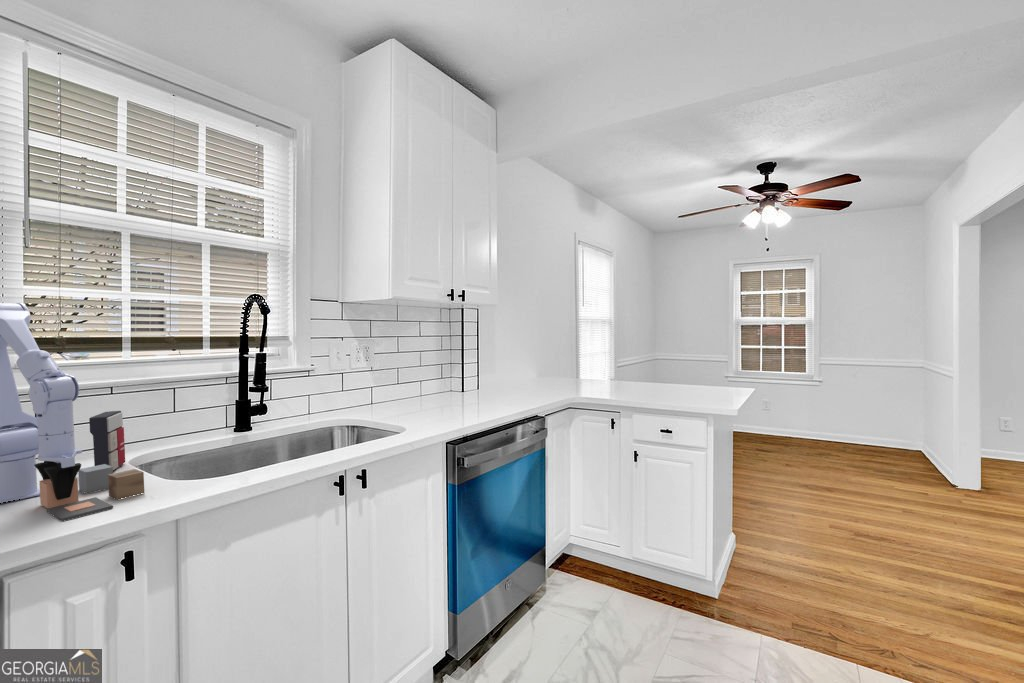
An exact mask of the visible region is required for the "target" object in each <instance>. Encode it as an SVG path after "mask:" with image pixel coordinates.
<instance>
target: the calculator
mask: <svg viewBox="0 0 1024 683" xmlns="http://www.w3.org/2000/svg"><path fill="white" fill-rule="evenodd" d="M123 419H124V418H123V412H122V411H121V410H112V411H109V410H108V411H104V412H101V413H99V414H97V415H94V416H91V417H89V420H88V421H89V433H90V434H91V435H92V440H93V441H92V444H93V445H92V446H93V459H94V460H93V461H94V462H93V465H94V466H98V465H103V464H106V465H109V466H111V467H113V470H114V471H115V470H117V469H119V467H121V466H123V464H125V463H126V448H125V429H124V428H125V427H124V424H123V422H124V420H123Z"/></svg>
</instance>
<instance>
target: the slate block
mask: <svg viewBox="0 0 1024 683" xmlns="http://www.w3.org/2000/svg"><path fill="white" fill-rule="evenodd" d="M113 473H114V471H113V467H111V466H109V465H106V464H103V465H98V466H93V465H92V466H88V467H83V468H80V469H79V471H78V473H77V474H78V491H80V490H81V491H80V492H82V491H83V493H84V492H85V493H84V494H86V493H88V494H91V493H90V492H92V493H96V492H95V491H97V492H100V491H99V490H101V491H105V490H109V489H108V488H109V485H108V474H113ZM104 489H105V490H104Z"/></svg>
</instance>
